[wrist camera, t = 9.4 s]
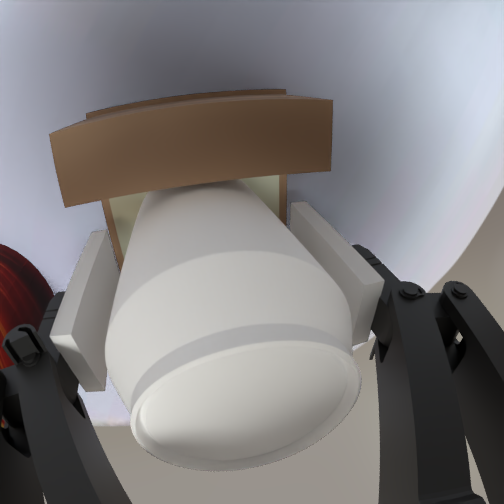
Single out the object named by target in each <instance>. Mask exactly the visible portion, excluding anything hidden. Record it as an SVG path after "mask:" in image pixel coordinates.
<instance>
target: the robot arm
mask: <svg viewBox="0 0 504 504" xmlns="http://www.w3.org/2000/svg"><path fill="white" fill-rule="evenodd" d="M290 232H291V233H292V234H293V235H294V236H295V237H296V238H297V239H298V240H299V242H300V243H301V244H302V245H303V246H304V247H305V248H306V249H307V250H308V252H309V253H310V254H311V255H312V256H313V257H314V258H315V259H316V261H317V262H318V263H319V264H320V265H321V266H322V267H323V268H324V270H325V271H326V272H327V273H328V274H329V275H330V276H331V278H332V279H333V280H334V281H335V282H336V284H337V285H338V286H339V288H340V289H341V291H342V292H343V294H344V296H345V298H346V300H347V302H348V305H349V309H350V313H351V320H352V346H354V345H357V344H360V343H363V342H366V341H368V338H369V335H370V331H371V330H372V331H373V333H374V334H375V335H376V340H375V343H374V346H373V349H372V352H371V355H370V360H372V359H373V356H374V354H375V359H376V370H377V383H378V398H379V420H380V482H379V503H378V504H486V502H485V501H484V499H483V498H482V497H481V496H479V495H477V494H475V493H474V492H473V491H472V488H471V480H470V470H469V461H468V453H467V446H466V439H467V441H468V444H469V446H470V449H471V451H472V454H473V457H474V459H475V462H476V465H477V467H478V470H479V473H480V476H481V479H482V482H483V485H484V488H485V491H486V494H487V498H488V501H489V504H504V331H503V330H502V329H501V327H500V326H499V325H498V323H497V322H496V321H495V319H494V318H493V316H492V315H491V314H490V312H489V311H488V310H487V309H486V307H485V306H484V305H483V303H482V302H481V301H480V300H479V298H478V297H477V296H476V295H475V293H474V292H473V291H472V290H471V289H470V288H469V287H468V286H467V285H465V284H463V283H461V282H458V281H449V282H446V283H445V285H444V286H443V289H442V292H441V293H426V292H425V291H424V289H423V288H421V287H420V286H419V285H417V284H414V283H412V282H406V281H403V282H400V281H399V279H398V278H397V277H396V276H395V275H394V274H393V273H392V272H391V271H390V270H389V269H388V268H387V267H386V266H385V265H384V264H382V262H381V261H380V260H379V259H378V258H376V256H374V255H373V254H372V253H371V252H370V251H369V250H368V249H366V248H364V247H362V246H360V245H352V246H351V245H350V244H349V243H348V242H347V241H346V240H345V239H344V238H343V237H342V236H341V235H340V234H339V233H338V232H337V231H336V230H335V229H334V228H333V227H332V226H331V225H330V224H329V223H328V222H327V221H326V220H325V219H324V218H323V217H322V216H321V215H320V214H319V213H318V212H317V211H315V210H314V209H313V208H312V207H311V206H310V205H309V204H308V203H307V202H306V201H302V202H293V203H291V205H290ZM119 278H120V273H119V269H118V266H117V263H116V260H115V256H114V253H113V249H112V246H111V242H110V238H109V235H108V231H107V229H106V230H101V231H95V232H92V233H91V235H90V237H89V239H88V242H87V244H86V246H85V248H84V250H83V252H82V254H81V257H80V259H79V261H78V263H77V266H76V268H75V270H74V272H73V275H72V277H71V280H70V282H69V284H68V287H67V289H66V291H64V292H57V294H56V295H55V296H54V297H53V298H52V299H51V300H50V302H49V304H48V307H47V309H46V312H45V314H44V317H43V320H42V322H41V324H40V327H39V330H38V332H37V331H36V329H35V328H34V327H33V326H32V325H30V324H22V325H19V326H16V327H15V328H13V329H12V330H11V331H10V332H9V333H8V334H7V335H6V336H5V338H4V340H3V343H2V347H3V349H4V350H5V352H6V353H7V355H8V356H9V357H10V359H11V360H12V362H13V363H14V364H15V365H12V366H10V367H7V368H4V369H0V504H45V503H44V497H43V493H44V496H45V499H46V501H47V504H132V502H131V501H130V499H129V497H128V496H127V494H126V492H125V491H124V489H123V487H122V485H121V483H120V482H119V480H118V478H117V476H116V474H115V472H114V470H113V468H112V466H111V464H110V463H109V461H108V459H107V456H106V455H105V453H104V450H103V448H102V446H101V444H100V441H99V439H98V437H97V435H96V433H95V430H94V428H93V425H92V423H91V421H90V418H89V416H88V413H87V410H86V408H85V405H84V403H83V400H82V398H81V397H80V395H79V394H78V393H77V391H78V384H79V383H80V385H81V386H82V387H83V389H84V390H85V391H86V392H95V391H105V387H106V377H107V367H106V361H105V342H106V336H107V331H108V326H109V321H110V316H111V311H112V307H113V302H114V298H115V294H116V290H117V286H118V282H119ZM459 332H460V333H461V335H462V337H463V338H462V340H461V342H458V340H457V339H456V336H457V335H458V333H459ZM2 419H3V420H4V421H5V423H4V428H3V427H2V426H1V424H2ZM465 436H466V439H465Z"/></svg>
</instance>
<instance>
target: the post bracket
mask: <svg viewBox="0 0 504 504" xmlns="http://www.w3.org/2000/svg"><path fill="white" fill-rule="evenodd" d="M86 118H87V119H86V120H83V121H81V122H78V123H75V124H73V125H70V126H68V127H65V128H63V129H60V130H58V131H55V132H53V133H51V134H49V136H50V142H51V148H52V153H53V158H54V163H55V168H56V173H57V177H58V182H59V186H60V190H61V194H62V198H63V202H64V206H65V208H67V207H71V206H76V205H80V204H85V203H90V202H95V201H100V200H101V201H102V206H103V210H104V214H105V218H106V222H107V226H108V230H109V234H110V238H111V241H112V245H113V248H114V252H115V255H116V259H117V262H118V265H119V269H120V272H121V270H122V266H123V262H124V259H125V255H126V251H127V248H128V244H129V241H130V238H131V234H132V231H133V228H134V225H135V221H136V218H137V215H138V212H139V210H140V207H141V205H142V202H143V200H144V198H145V196H146V195H147V193H148V192H149V191H155V190H161V189H168V188H174V187H181V186H188V185H195V184H202V183H210V182H218V181H226V180H234V179H241V180H242V181H243V182H244V183H245V184H246V185H247V186H248V187H249V188H250V189H251V190H252V191H253V192H254V193H255V194H256V195H257V196H258V197H259V198H260V199H261V200H262V201H263V202H264V203H265V205H266V206H267V207H268V208H269V209H270V210H271V211H272V212H273V213H274V214H275V215H276V216H277V217H278V218H279V220H280V221H281V222H282V223H283V224H284V225H285V226H286V207H287V174H297V173H311V172H326V171H331V152H332V118H333V100H328V99H321V98H312V97H303V96H293V95H286V89H261V90H236V91H221V92H209V93H198V94H189V95H181V96H173V97H166V98H159V99H153V100H147V101H141V102H136V103H130V104H125V105H120V106H115V107H111V108H106V109H102V110H98V111H94V112H90V113H86Z"/></svg>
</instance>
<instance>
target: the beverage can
mask: <svg viewBox="0 0 504 504" xmlns="http://www.w3.org/2000/svg"><path fill="white" fill-rule="evenodd" d="M105 361H106V367H107V370H108V374H109V376H110V379H111V381H112V383H113V385H114V387H115V389H116V390H117V392H118V394H119V396H120V398H121V399H122V401H123V403H124V405H125V406H126V408H127V410H128V411H129V413H130V425H131V430H132V433H133V435H134V437H135V439H136V440H137V442H138V443H139V444H140V445H141V447H142V448H143V449H145V450H146V451H147V452H148V453H150V454H151V455H153V456H154V457H156V458H158V459H160V460H162V461H164V462H167V463H170V464H172V465H175V466H179V467H183V468H187V469H193V470H201V471H233V470H242V469H249V468H254V467H258V466H262V465H266V464H269V463H273V462H276V461H279V460H281V459H284V458H287V457H289V456H292V455H294V454H296V453H298V452H300V451H302V450H304V449H306V448H308V447H310V446H311V445H313V444H314V443H316V442H317V441H319V440H320V439H322V438H323V437H325V436H326V435H327V434H329V433H330V432H331V431H332V430H333V429H334V428H335V427H336V426H338V424H340V423H341V421H342V420H343V419H344V418H345V417H346V416H347V415H348V413H349V412H350V411H351V409H352V408H353V406H354V404H355V402H356V400H357V398H358V396H359V393H360V389H361V383H362V381H361V380H362V378H361V372H360V369H359V366H358V365H357V363H356V361H355V360H354V358H353V356H352V320H351V313H350V309H349V305H348V302H347V300H346V298H345V296H344V294H343V292H342V291H341V289H340V288H339V286H338V285H337V284H336V282H335V281H334V280H333V279H332V278H331V276H330V275H329V274H328V273H327V272H326V271H325V270H324V268H323V267H322V266H321V265H320V264H319V263H318V262H317V261H316V259H315V258H314V257H313V256H312V255H311V254H310V253H309V252H308V250H307V249H306V248H305V247H304V246H303V245H302V244H301V243H300V242H299V240H298V239H297V238H296V237H295V236H294V235H293V234H292V233H291V232H290V230H289V229H288V228H287V227H286V226H285V225H284V224H283V223H282V222H281V221H280V220H279V218H278V217H277V216H276V215H275V214H274V213H273V212H272V211H271V210H270V209H269V208H268V207H267V206H266V205H265V203H264V202H263V201H262V200H261V199H260V198H259V197H258V196H257V195H256V194H255V193H254V192H253V191H252V190H251V189H250V188H249V187H248V186H247V185H246V184H245V183H244V182H243V181H242V180H241V179H234V180H226V181H218V182H210V183H202V184H195V185H188V186H181V187H174V188H168V189H161V190H155V191H149V192H148V193H147V195H146V196H145V198H144V200H143V202H142V205H141V207H140V210H139V212H138V215H137V218H136V221H135V225H134V228H133V231H132V234H131V238H130V241H129V244H128V248H127V251H126V255H125V259H124V262H123V266H122V270H121V274H120V278H119V282H118V286H117V290H116V294H115V298H114V302H113V307H112V311H111V316H110V321H109V326H108V331H107V336H106V342H105Z"/></svg>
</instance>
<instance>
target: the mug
mask: <svg viewBox="0 0 504 504" xmlns="http://www.w3.org/2000/svg"><path fill="white" fill-rule="evenodd" d="M53 297H54V295H53V292H52V290H51V288H50V287H49V285H48V283H47V281H46V280H45V278H44V277H43V276H42V275H41V273H40V272H39V271H38V269H37V268H36V267H35V266H34V265H33V264H32V263H31V262H30V261H29V260H27V259H26V258H25V257H23V256H22V255H21V254H19V253H18V252H17V251H15V250H13V249H11V248H9V247H7V246H5V245H2V244H0V369H4V368H7V367H10V366H12V365H15V364H14V363H13V362H12V360H11V359H10V357H9V356H8V355H7V353H6V352H5V350H4V349H3V347H2V343H3V340H4V338H5V336H6V335H7V334H8V333H9V332H10V331H11V330H12V329H13V328H15V327H16V326H19V325H22V324H30V325H32V326H33V327H34V328H35V329H36V331H37V332H38V330H39V327H40V324H41V322H42V320H43V317H44V314H45V312H46V309H47V307H48V304H49V302H50V300H51V299H52V298H53ZM4 423H5V421H4V420H3V419H2V424H1V426H2V427H3V428H4Z"/></svg>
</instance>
